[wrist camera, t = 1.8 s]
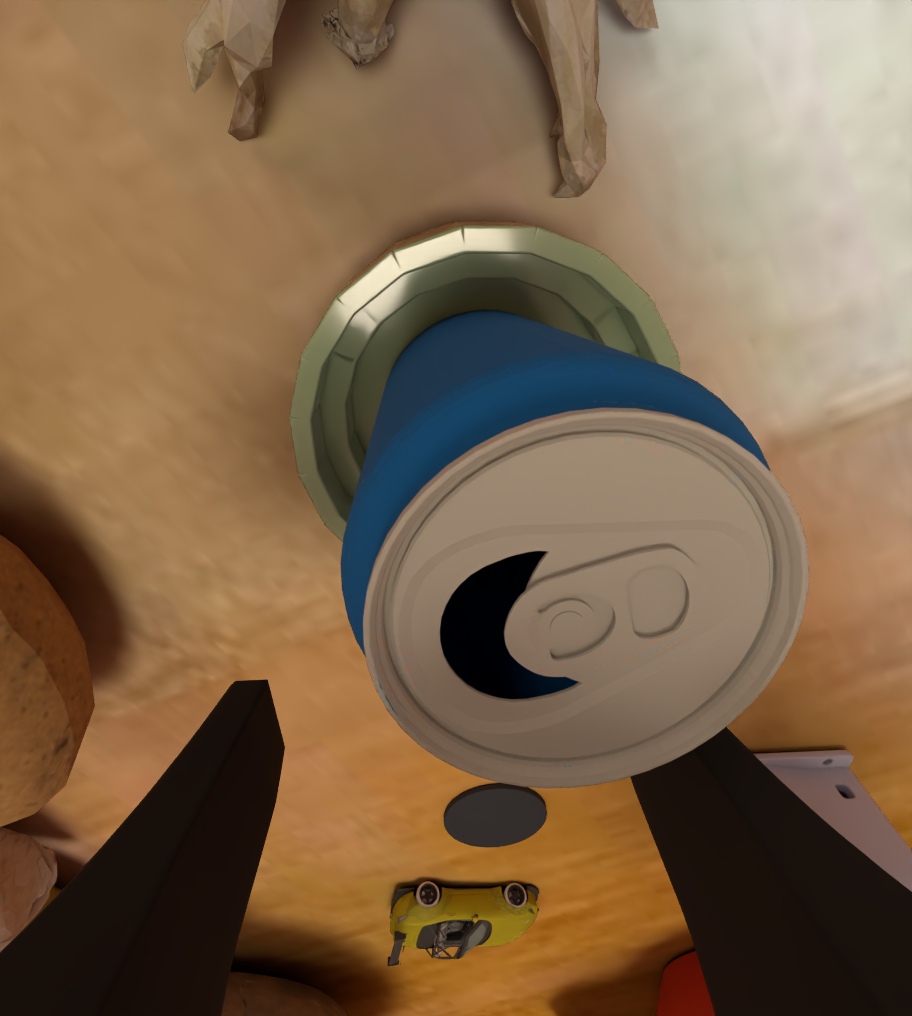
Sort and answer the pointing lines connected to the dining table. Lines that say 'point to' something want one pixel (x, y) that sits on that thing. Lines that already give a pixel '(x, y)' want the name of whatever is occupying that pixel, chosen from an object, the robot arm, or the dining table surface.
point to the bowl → (275, 998)
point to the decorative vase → (684, 989)
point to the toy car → (459, 918)
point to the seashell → (22, 881)
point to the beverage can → (564, 556)
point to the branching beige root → (363, 35)
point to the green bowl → (435, 296)
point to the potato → (37, 688)
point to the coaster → (495, 815)
